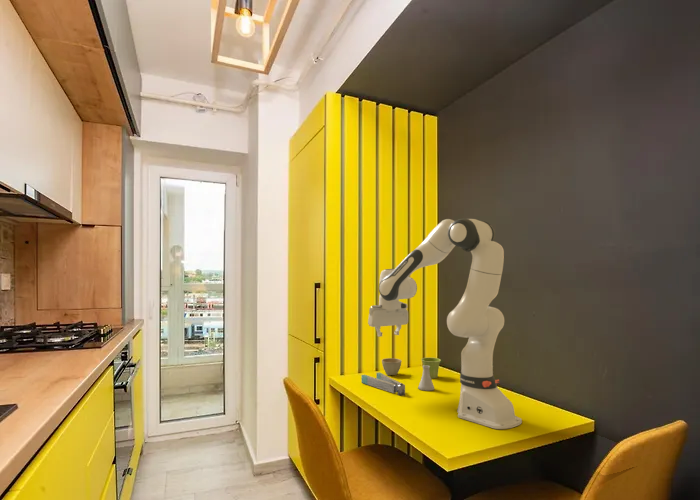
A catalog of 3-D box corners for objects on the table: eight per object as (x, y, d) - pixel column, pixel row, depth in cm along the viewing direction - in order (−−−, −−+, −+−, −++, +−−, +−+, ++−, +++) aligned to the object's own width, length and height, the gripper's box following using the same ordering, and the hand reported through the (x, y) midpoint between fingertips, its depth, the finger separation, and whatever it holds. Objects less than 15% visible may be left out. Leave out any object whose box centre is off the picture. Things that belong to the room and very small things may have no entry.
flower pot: (377, 374, 199) (377, 360, 199) (390, 371, 206) (390, 357, 206) (392, 378, 192) (392, 363, 192) (405, 374, 198) (405, 360, 199)
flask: (433, 386, 177) (433, 364, 178) (435, 391, 170) (435, 368, 170) (417, 386, 178) (417, 364, 178) (418, 391, 170) (418, 367, 171)
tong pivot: (406, 394, 165) (406, 383, 165) (400, 396, 163) (400, 384, 163) (401, 393, 167) (401, 382, 168) (395, 394, 166) (395, 383, 166)
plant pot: (440, 380, 188) (440, 362, 189) (420, 378, 191) (420, 360, 191) (441, 375, 197) (441, 358, 198) (422, 374, 200) (422, 356, 200)
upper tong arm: (396, 392, 167) (396, 384, 167) (393, 393, 166) (393, 385, 166) (364, 382, 183) (364, 374, 183) (361, 382, 182) (361, 375, 182)
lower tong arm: (402, 391, 168) (402, 383, 168) (398, 392, 168) (398, 383, 168) (379, 379, 187) (379, 372, 188) (376, 380, 187) (376, 372, 187)
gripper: (373, 306, 168) (373, 338, 167) (410, 304, 178) (410, 335, 178) (365, 304, 173) (365, 336, 173) (401, 303, 184) (401, 332, 183)
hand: (388, 335), depth 175 cm, fingers open, 8 cm apart
